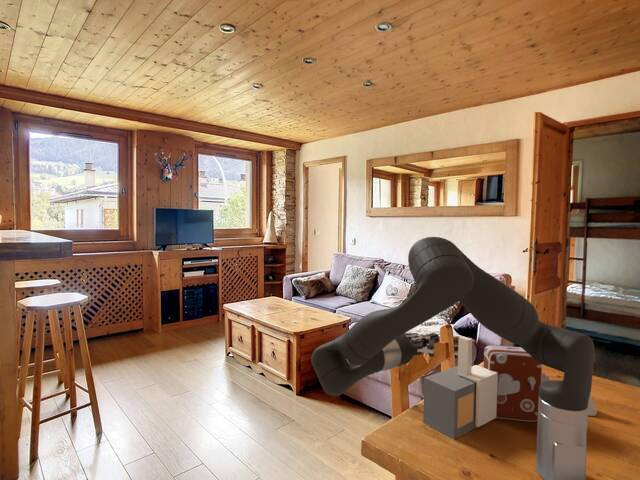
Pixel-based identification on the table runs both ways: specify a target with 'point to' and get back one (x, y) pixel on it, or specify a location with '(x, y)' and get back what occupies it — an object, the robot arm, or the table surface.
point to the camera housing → (449, 403)
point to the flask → (591, 407)
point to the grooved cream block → (478, 382)
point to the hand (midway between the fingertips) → (436, 337)
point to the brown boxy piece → (515, 382)
